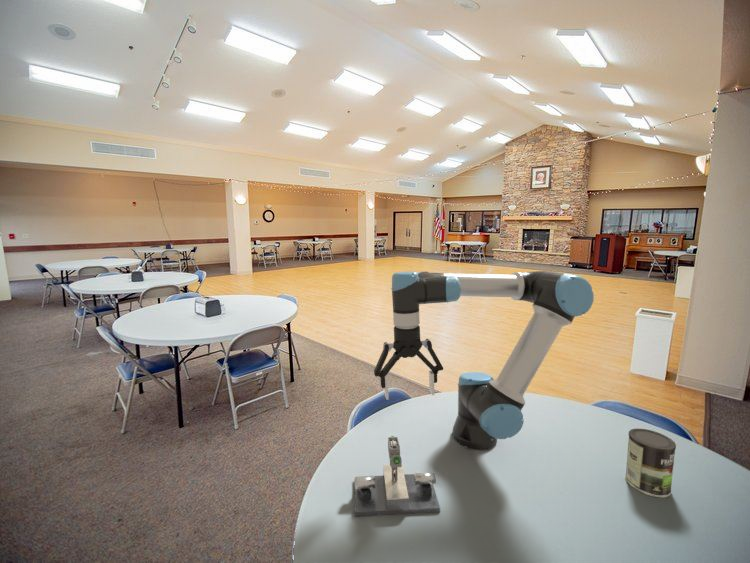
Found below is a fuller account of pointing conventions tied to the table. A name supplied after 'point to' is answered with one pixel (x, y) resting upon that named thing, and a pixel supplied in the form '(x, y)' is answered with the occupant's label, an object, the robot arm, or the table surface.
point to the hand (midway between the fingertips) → (409, 395)
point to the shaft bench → (395, 493)
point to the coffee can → (650, 462)
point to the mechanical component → (394, 456)
